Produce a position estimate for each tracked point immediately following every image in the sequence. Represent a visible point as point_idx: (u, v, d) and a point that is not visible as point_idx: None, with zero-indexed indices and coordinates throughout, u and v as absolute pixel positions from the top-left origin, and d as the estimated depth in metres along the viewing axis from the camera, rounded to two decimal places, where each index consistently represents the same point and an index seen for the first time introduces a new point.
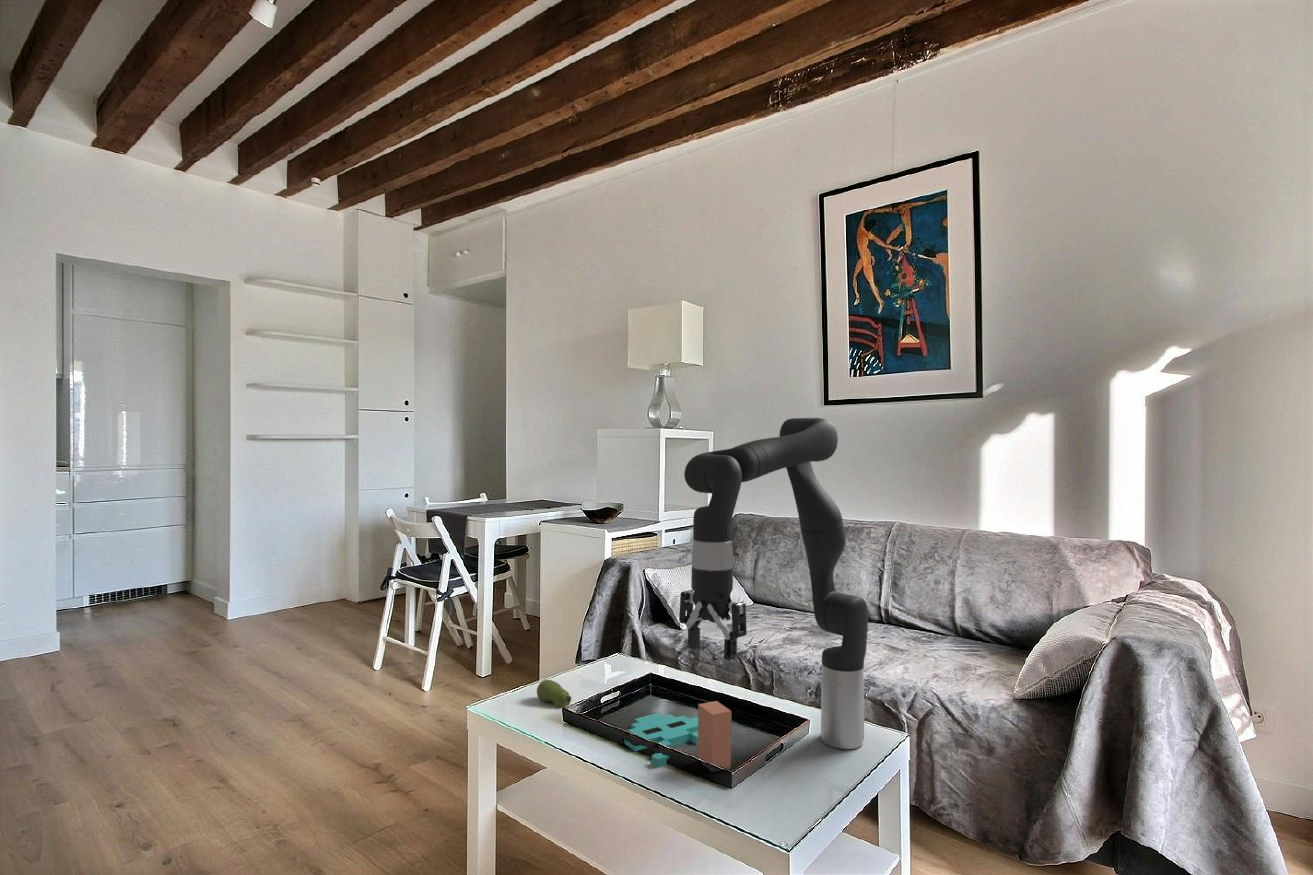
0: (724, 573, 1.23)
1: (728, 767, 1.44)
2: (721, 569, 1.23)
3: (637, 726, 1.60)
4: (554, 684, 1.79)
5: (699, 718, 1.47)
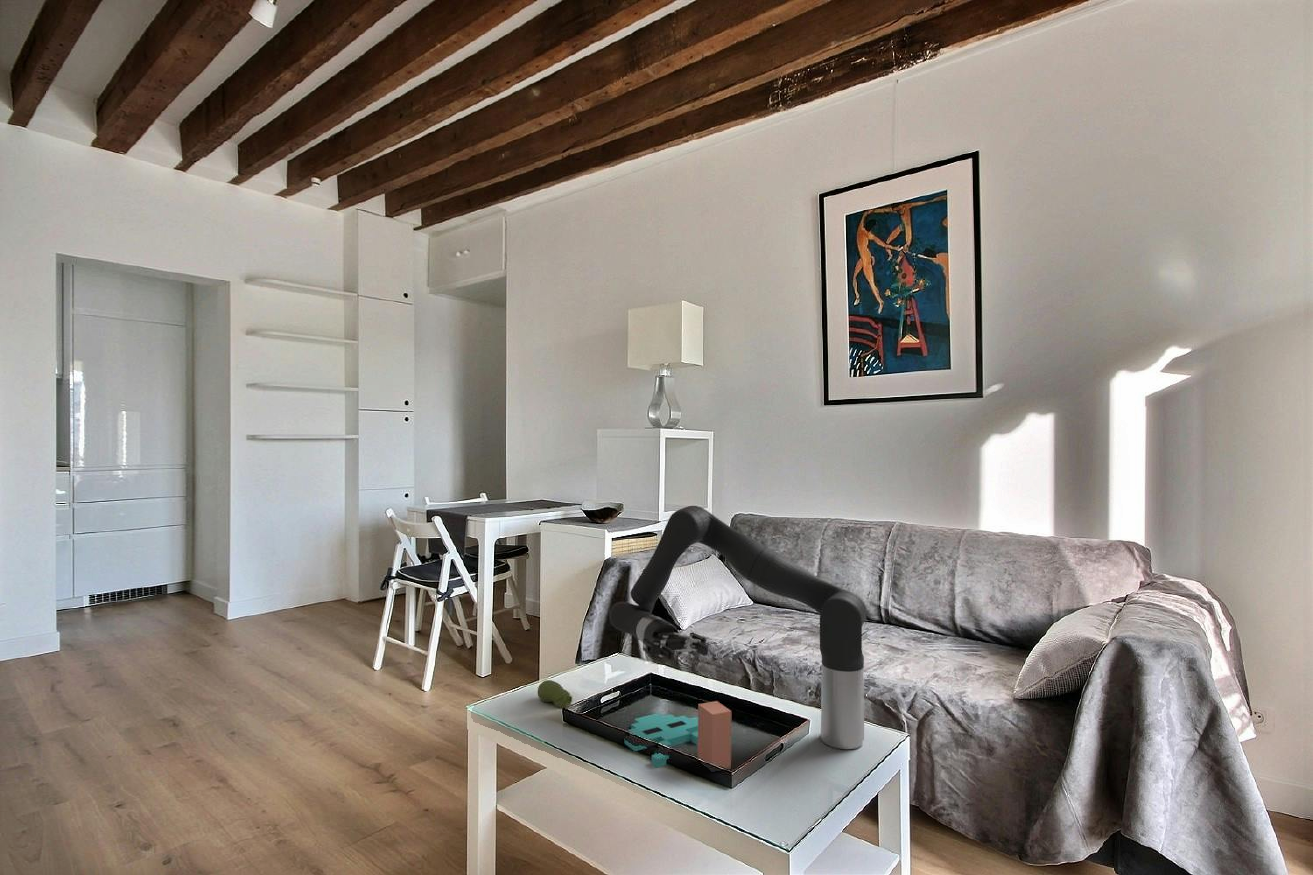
0: None
1: (728, 767, 1.44)
2: None
3: (637, 726, 1.60)
4: (555, 684, 1.78)
5: (699, 718, 1.47)
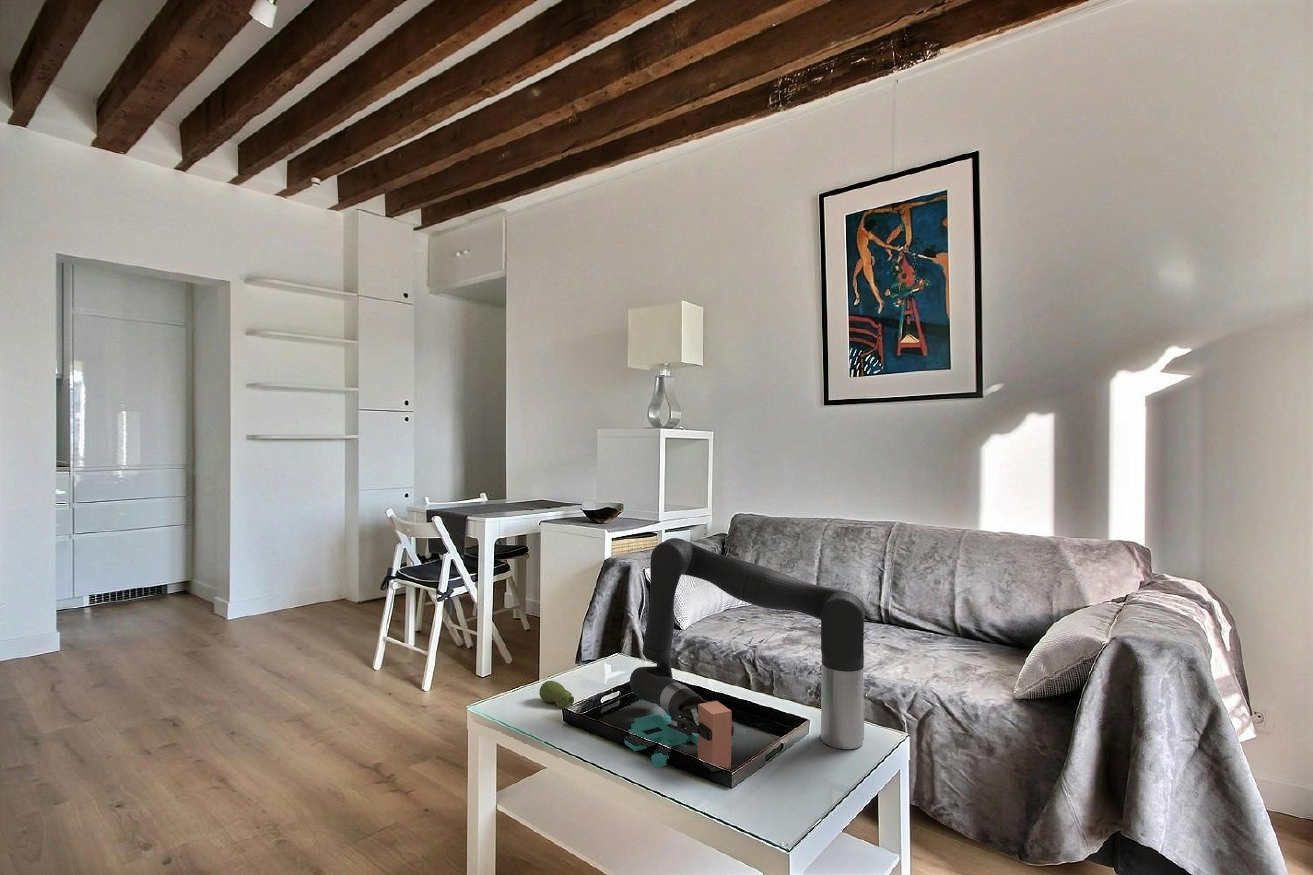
0: (670, 712, 1.56)
1: (728, 767, 1.44)
2: (669, 713, 1.57)
3: (637, 726, 1.60)
4: (557, 684, 1.78)
5: (699, 718, 1.47)
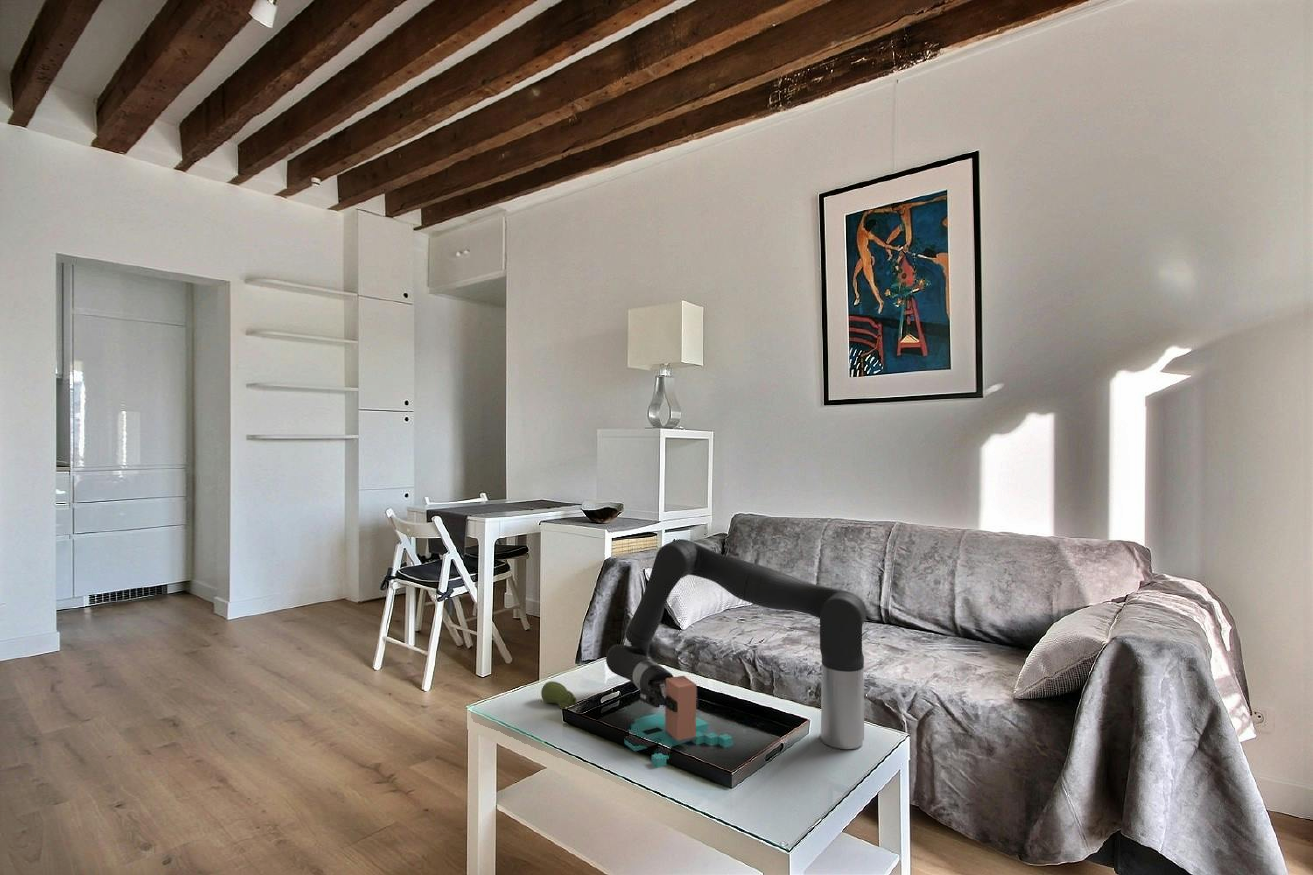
0: (641, 687, 1.66)
1: (693, 737, 1.53)
2: (640, 688, 1.66)
3: (637, 726, 1.60)
4: (559, 685, 1.78)
5: (666, 691, 1.56)
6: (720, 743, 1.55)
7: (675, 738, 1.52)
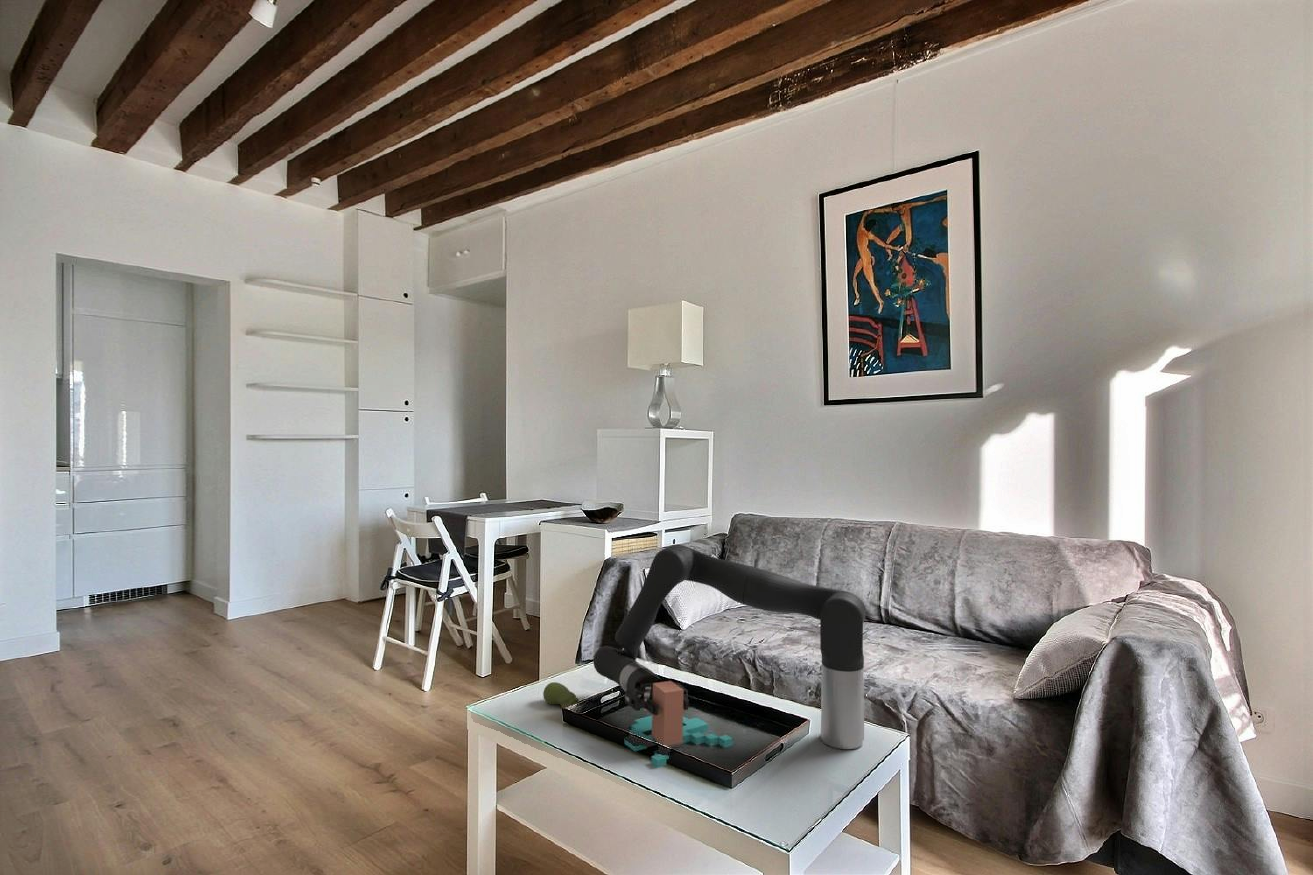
0: (627, 690, 1.64)
1: (680, 743, 1.51)
2: (627, 691, 1.64)
3: (637, 727, 1.60)
4: (561, 686, 1.77)
5: (653, 696, 1.54)
6: (720, 744, 1.55)
7: None
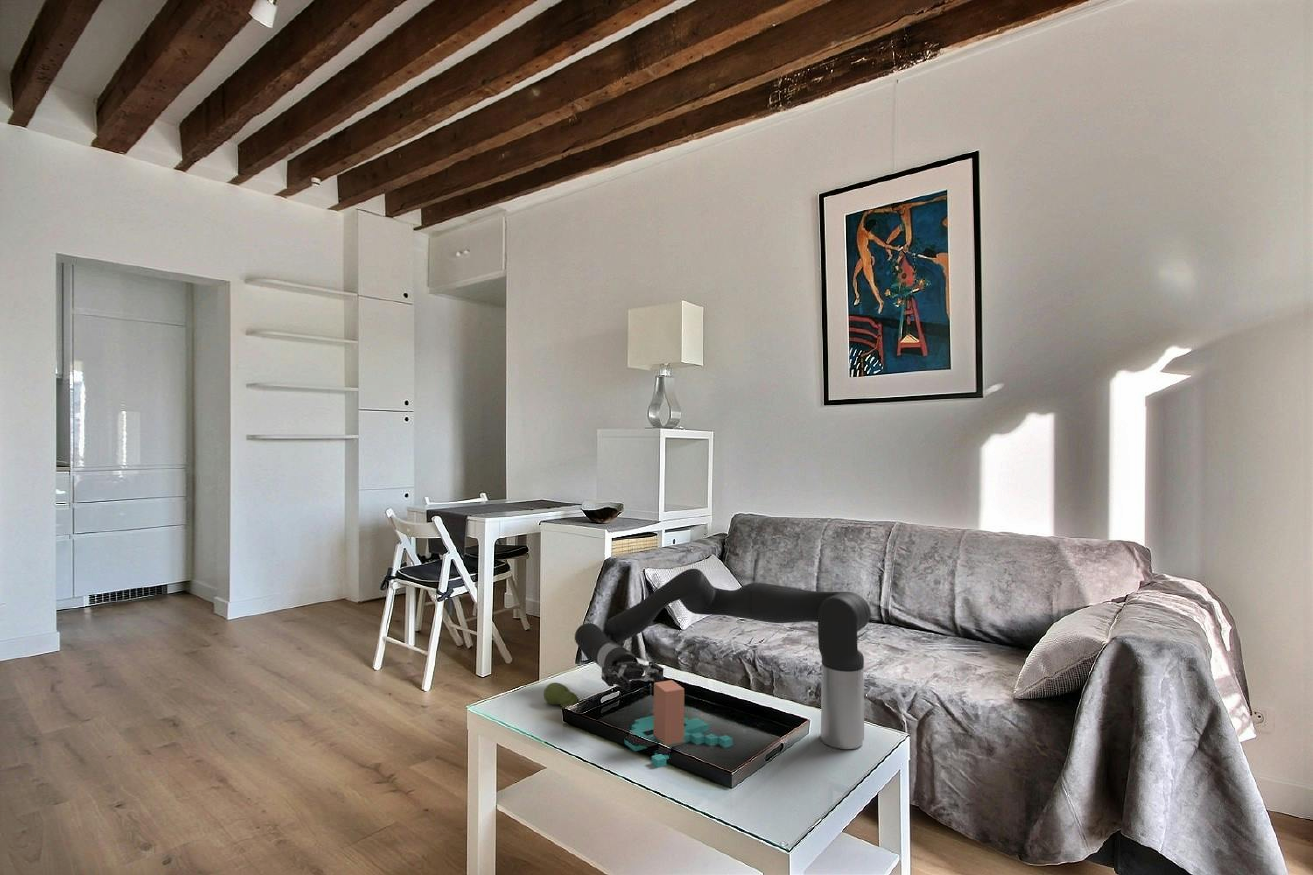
0: (605, 667, 1.72)
1: (681, 742, 1.52)
2: None
3: (637, 727, 1.60)
4: (562, 686, 1.77)
5: (654, 696, 1.55)
6: (720, 744, 1.55)
7: (663, 743, 1.51)
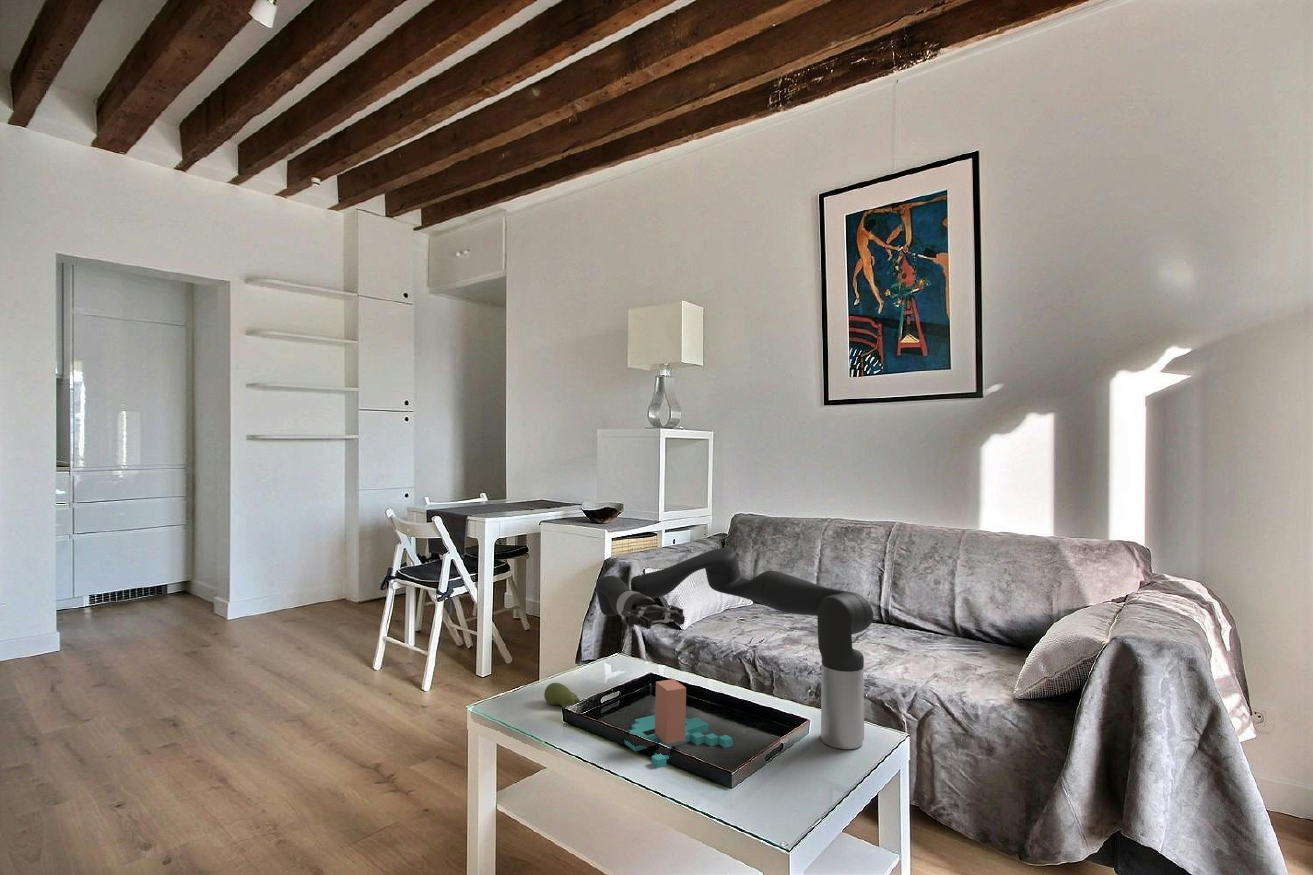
0: None
1: (682, 741, 1.52)
2: None
3: (637, 727, 1.60)
4: (562, 686, 1.77)
5: (656, 694, 1.56)
6: (720, 744, 1.55)
7: (664, 742, 1.51)
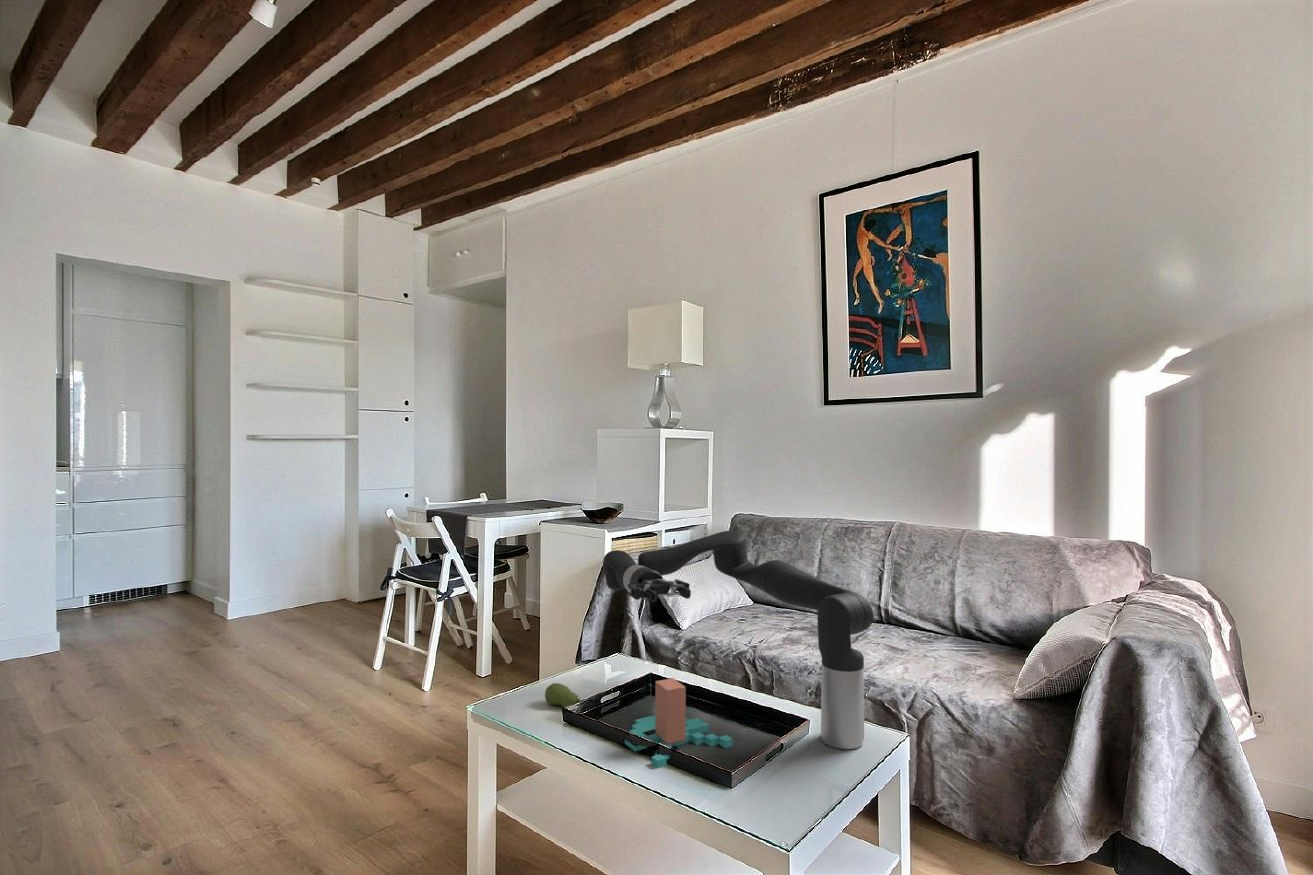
0: None
1: (683, 740, 1.53)
2: None
3: (637, 727, 1.60)
4: (563, 687, 1.76)
5: (656, 694, 1.56)
6: (720, 744, 1.55)
7: (665, 741, 1.52)
